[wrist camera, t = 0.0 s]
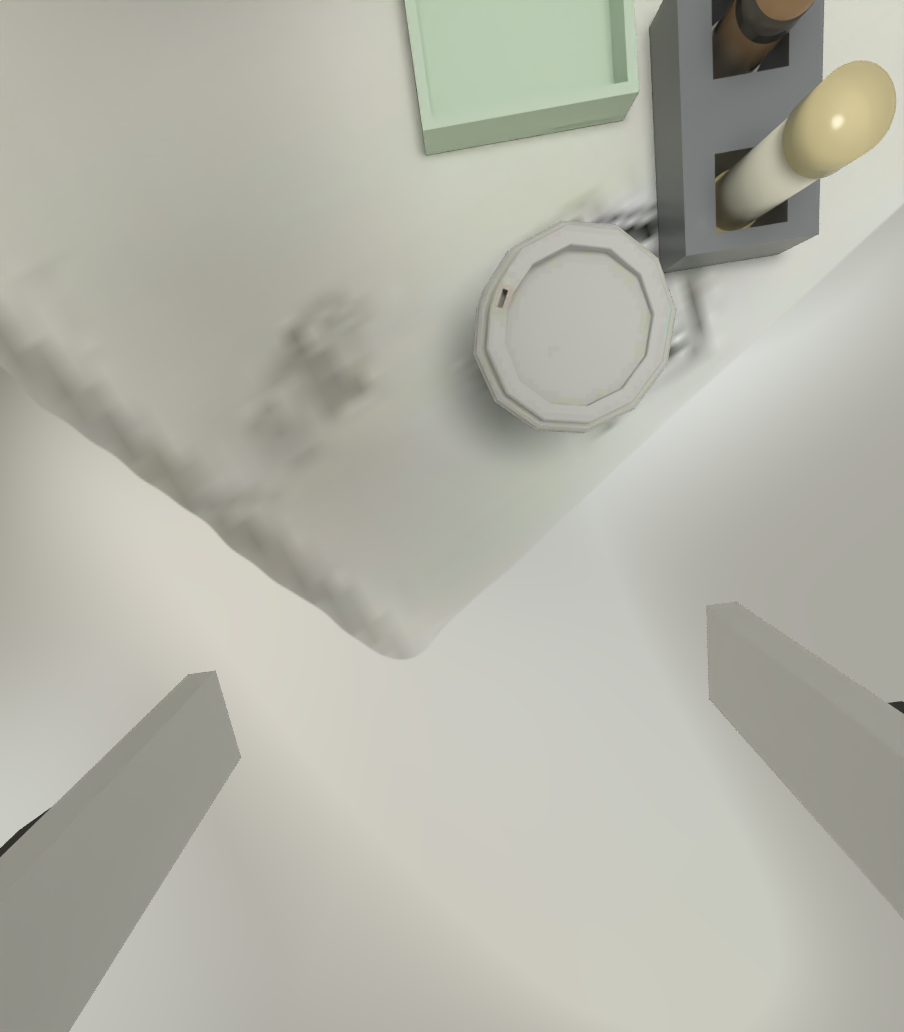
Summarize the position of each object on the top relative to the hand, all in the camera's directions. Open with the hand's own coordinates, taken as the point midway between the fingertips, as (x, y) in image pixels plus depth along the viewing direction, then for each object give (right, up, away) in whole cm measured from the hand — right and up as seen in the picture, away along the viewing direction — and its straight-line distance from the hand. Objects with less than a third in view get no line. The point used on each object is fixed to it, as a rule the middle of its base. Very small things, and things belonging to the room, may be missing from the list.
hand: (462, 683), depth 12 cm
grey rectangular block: (+19, +32, +21) cm, 43 cm away
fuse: (+20, +27, +22) cm, 41 cm away
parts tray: (+4, +37, +20) cm, 43 cm away
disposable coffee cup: (+6, +17, +25) cm, 31 cm away
